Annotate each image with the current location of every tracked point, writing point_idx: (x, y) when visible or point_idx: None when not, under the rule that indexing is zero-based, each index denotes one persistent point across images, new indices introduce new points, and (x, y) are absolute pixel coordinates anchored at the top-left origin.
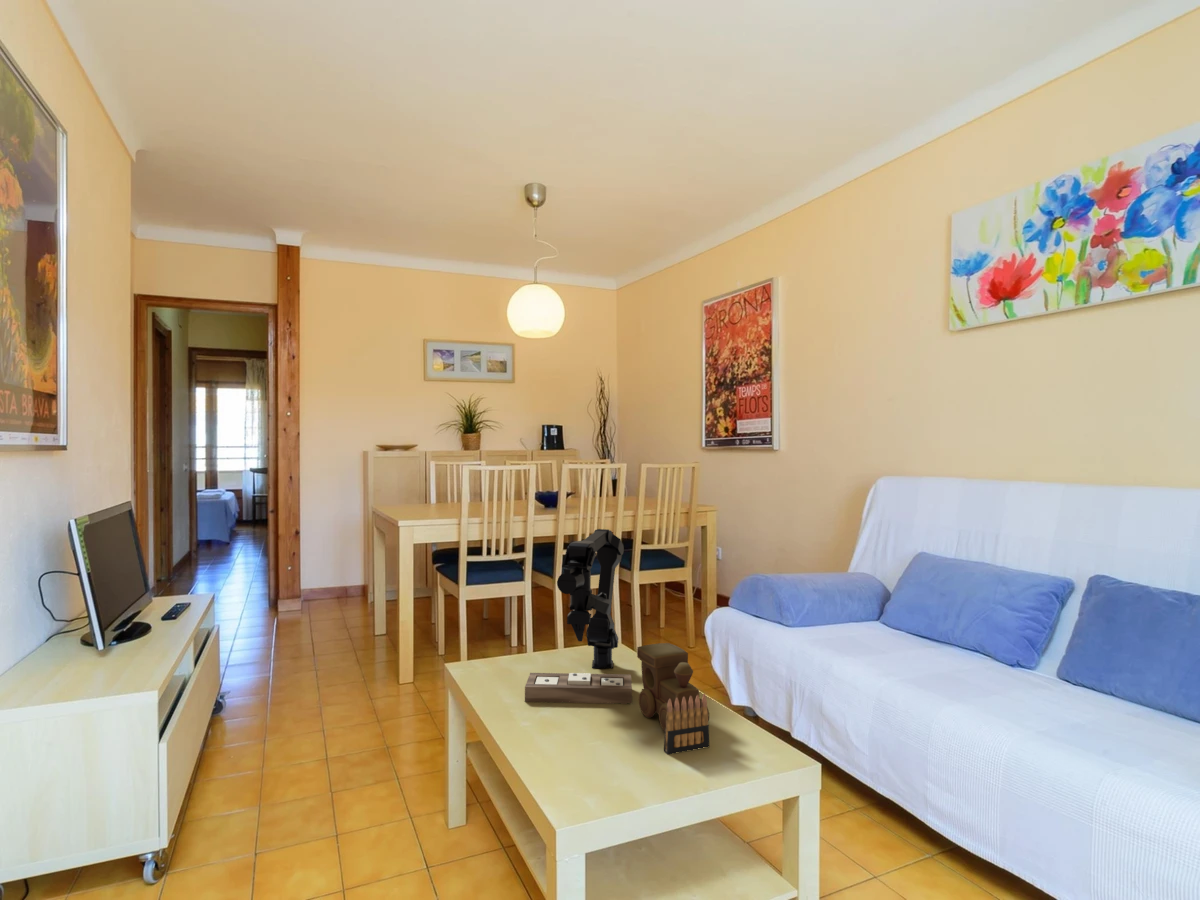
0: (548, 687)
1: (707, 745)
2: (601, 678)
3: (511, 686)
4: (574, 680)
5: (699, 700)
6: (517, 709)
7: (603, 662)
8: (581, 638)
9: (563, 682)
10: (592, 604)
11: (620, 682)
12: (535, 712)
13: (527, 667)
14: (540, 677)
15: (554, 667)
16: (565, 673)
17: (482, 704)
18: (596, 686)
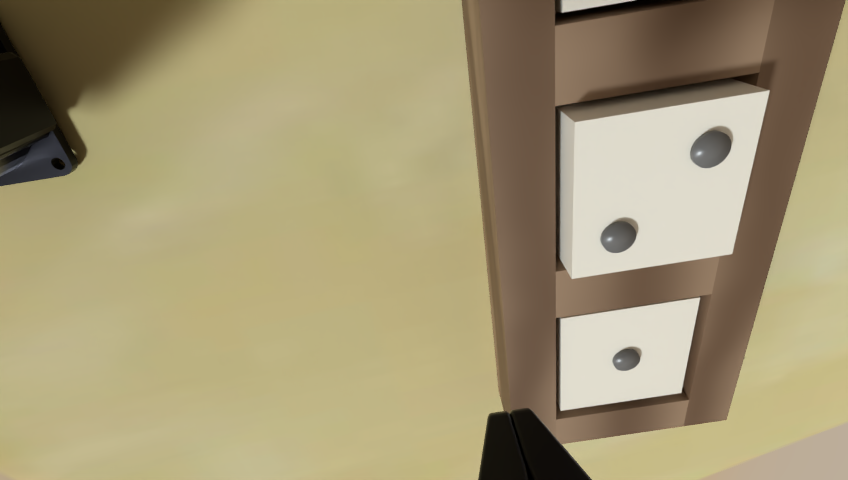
0: (751, 326)
1: None
2: (575, 9)
3: None
4: (737, 212)
5: None
6: (764, 363)
7: (7, 91)
8: (558, 447)
9: (678, 272)
10: None
11: None
12: (816, 295)
13: (246, 459)
14: (572, 396)
15: (186, 368)
16: (505, 298)
17: (693, 467)
18: (804, 15)
